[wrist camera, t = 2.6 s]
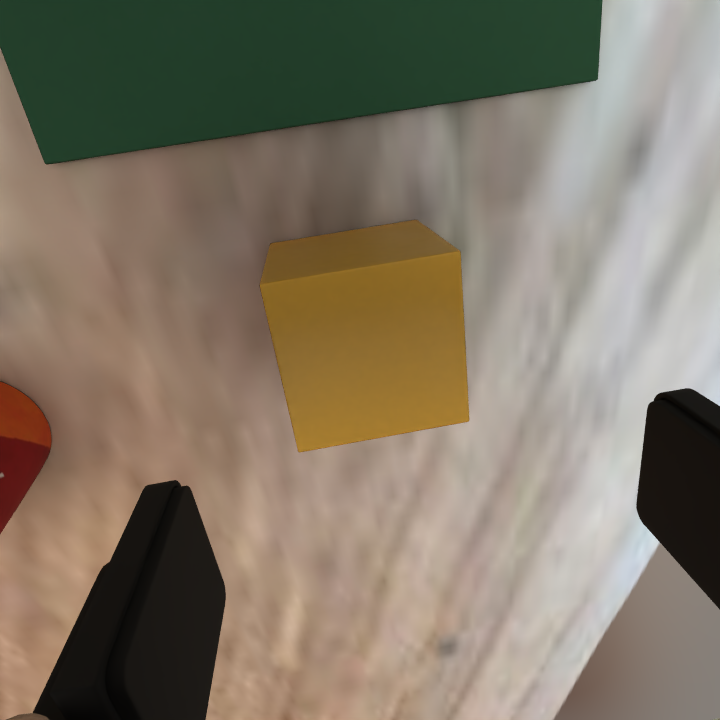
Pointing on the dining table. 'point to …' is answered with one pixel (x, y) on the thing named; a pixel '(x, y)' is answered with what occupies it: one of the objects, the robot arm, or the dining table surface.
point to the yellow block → (367, 332)
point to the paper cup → (19, 448)
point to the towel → (273, 63)
